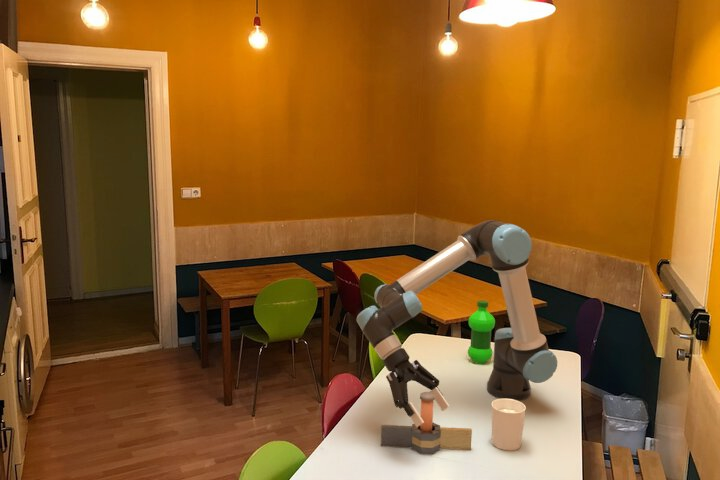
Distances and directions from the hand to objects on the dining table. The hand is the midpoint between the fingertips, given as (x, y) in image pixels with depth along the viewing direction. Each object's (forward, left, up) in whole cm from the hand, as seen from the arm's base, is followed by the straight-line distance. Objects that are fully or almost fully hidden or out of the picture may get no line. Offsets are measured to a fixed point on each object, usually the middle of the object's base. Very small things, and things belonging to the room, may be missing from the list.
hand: (433, 416), depth 169 cm
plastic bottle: (-24, -72, -10) cm, 77 cm away
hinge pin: (+2, -1, -10) cm, 10 cm away
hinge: (+2, -1, -10) cm, 10 cm away
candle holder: (-22, -5, -10) cm, 25 cm away
